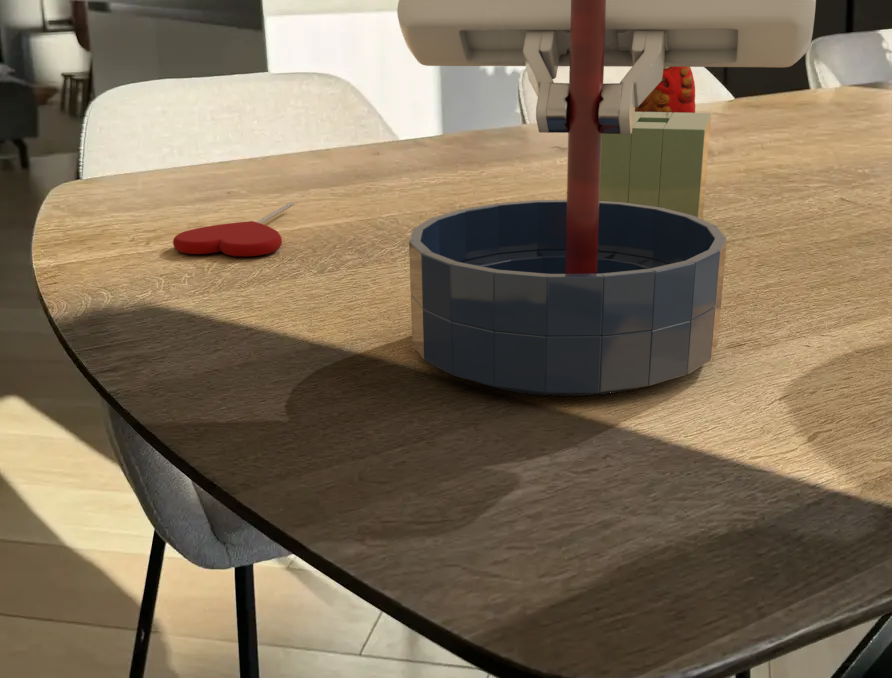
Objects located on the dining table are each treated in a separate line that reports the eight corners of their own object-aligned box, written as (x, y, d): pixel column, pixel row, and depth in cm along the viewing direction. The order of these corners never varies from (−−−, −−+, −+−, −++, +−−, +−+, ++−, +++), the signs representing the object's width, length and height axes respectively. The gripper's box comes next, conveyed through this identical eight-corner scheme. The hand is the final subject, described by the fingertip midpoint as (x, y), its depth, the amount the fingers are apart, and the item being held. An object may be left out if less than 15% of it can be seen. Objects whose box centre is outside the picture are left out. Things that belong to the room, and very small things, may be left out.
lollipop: (247, 207, 94) (162, 253, 81) (246, 196, 94) (161, 240, 80) (338, 211, 92) (266, 258, 79) (337, 200, 92) (265, 246, 78)
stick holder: (602, 212, 90) (606, 111, 87) (703, 217, 88) (711, 113, 85) (587, 236, 83) (591, 127, 80) (696, 241, 81) (704, 129, 78)
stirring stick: (581, 323, 59) (590, -4, 52) (601, 331, 57) (613, -3, 51) (557, 329, 58) (563, -2, 51) (577, 337, 57) (586, -1, 50)
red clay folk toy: (618, 132, 126) (625, -11, 120) (640, 123, 132) (648, -14, 126) (683, 136, 123) (693, -11, 117) (703, 127, 128) (714, -14, 122)
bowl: (580, 290, 71) (584, 187, 68) (779, 361, 59) (793, 240, 56) (359, 341, 63) (353, 227, 60) (536, 436, 51) (538, 298, 48)
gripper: (410, -142, 57) (358, 81, 53) (830, -161, 52) (812, 84, 47) (436, -49, 63) (391, 159, 58) (817, -58, 58) (799, 170, 53)
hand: (583, 126), depth 53 cm, fingers closed on stirring stick, 1 cm apart
